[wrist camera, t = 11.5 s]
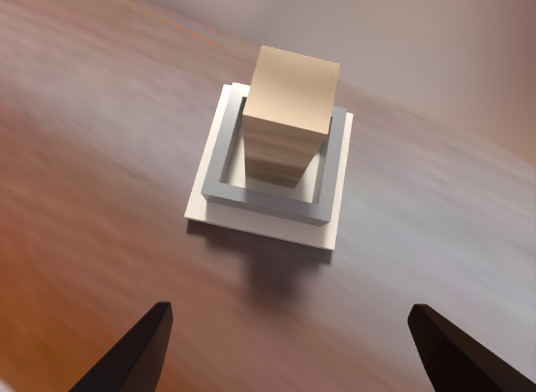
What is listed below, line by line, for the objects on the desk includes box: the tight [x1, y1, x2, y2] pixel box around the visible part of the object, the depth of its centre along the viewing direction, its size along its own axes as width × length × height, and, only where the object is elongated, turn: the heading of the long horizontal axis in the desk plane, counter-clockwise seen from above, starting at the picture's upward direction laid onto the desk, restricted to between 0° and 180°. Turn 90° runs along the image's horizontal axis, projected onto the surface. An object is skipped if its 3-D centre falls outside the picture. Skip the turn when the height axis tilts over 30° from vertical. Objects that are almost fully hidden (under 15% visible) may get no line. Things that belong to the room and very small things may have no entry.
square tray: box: [184, 82, 353, 251], centre depth 20 cm, size 12×12×4 cm
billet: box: [242, 45, 340, 189], centre depth 17 cm, size 4×4×9 cm
